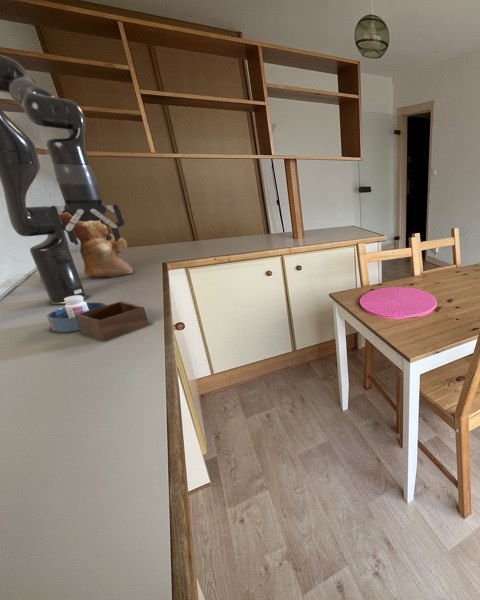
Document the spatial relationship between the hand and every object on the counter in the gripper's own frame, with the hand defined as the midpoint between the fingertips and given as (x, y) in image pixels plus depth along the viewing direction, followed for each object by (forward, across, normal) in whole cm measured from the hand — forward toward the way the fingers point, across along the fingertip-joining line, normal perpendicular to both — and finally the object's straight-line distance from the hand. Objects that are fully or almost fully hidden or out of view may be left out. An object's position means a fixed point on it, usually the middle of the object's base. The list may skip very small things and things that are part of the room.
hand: (97, 242), depth 90 cm
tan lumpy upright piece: (+26, +1, -68) cm, 72 cm away
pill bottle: (+26, +9, -7) cm, 28 cm away
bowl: (+26, +9, -7) cm, 28 cm away
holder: (+26, +2, +4) cm, 26 cm away
